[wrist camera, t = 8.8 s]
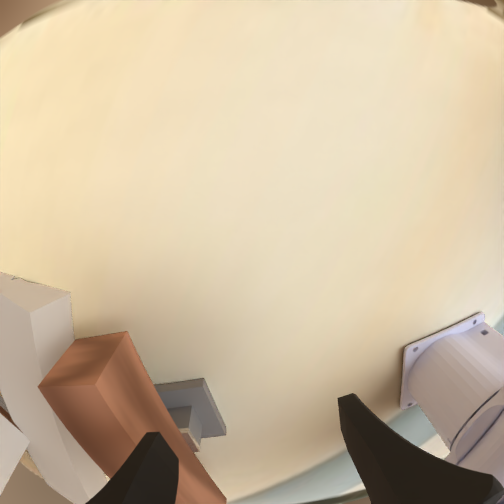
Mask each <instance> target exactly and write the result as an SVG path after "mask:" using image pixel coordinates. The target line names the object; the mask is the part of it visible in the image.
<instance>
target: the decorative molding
mask: <svg viewBox="0 0 504 504" xmlns="http://www.w3.org/2000/svg"><path fill="white" fill-rule="evenodd" d="M74 341H75V338H74V329H73V319H72V306H71V292H68V291H65V290H61V289H57V288H54V287H50V286H46V285H43V284H37V283H31V282H26V281H25V280H23V279H22V278H18V279H15V278H14V276H13V275H9V274H6V273H3V272H0V391H1V394H2V396H3V399H4V401H5V404H6V406H7V409H8V411H9V413H10V416H11V418H12V420H13V422H14V423H15V424H16V425H17V427H18V428H19V429H20V430H21V431H22V432H23V434H24V435H25V436H26V437H27V438H28V439H29V440H30V441H31V442H30V443H29V445H28V447H27V448H26V449H27V451H28V452H29V454H30V456H31V458H32V460H33V461H34V463H35V465H36V467H37V468H38V470H39V472H40V473H41V475H42V477H43V478H44V480H45V481H46V483H47V484H48V485H49V486H50V487H51V488H53V489H54V490H55V491H57V492H58V493H60V494H61V495H62V496H64V497H65V498H67V499H68V500H70V501H71V502H73V503H74V504H85V503H86V502H88V501H89V500H90V499H91V498H93V497H94V496H95V495H96V494H97V493H98V492H99V491H100V490H101V489H102V488H103V487H104V486H105V485H106V484H107V480H106V477H105V475H104V472H103V471H102V470H101V468H100V467H99V466H98V465H97V464H96V463H95V462H94V461H93V460H92V459H91V457H90V456H89V455H88V454H87V453H86V452H85V451H84V449H83V448H82V447H81V446H80V445H79V443H78V442H77V441H76V440H75V439H74V437H73V436H72V435H71V434H70V432H69V431H68V430H67V428H66V427H65V426H64V424H63V423H62V422H61V420H60V419H59V418H58V416H57V415H56V414H55V412H54V411H53V409H52V408H51V406H50V405H49V404H48V402H47V401H46V399H45V398H44V396H43V395H42V393H41V392H40V390H39V388H38V387H37V386H38V385H39V384H40V383H41V381H42V380H43V379H44V377H45V376H46V375H47V374H48V372H49V371H50V370H51V369H52V367H53V366H54V365H55V364H56V362H57V361H58V360H59V359H60V357H61V356H62V355H63V354H64V353H65V351H66V350H67V349H68V348H69V346H70V345H71V344H72V343H73V342H74Z"/></svg>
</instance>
